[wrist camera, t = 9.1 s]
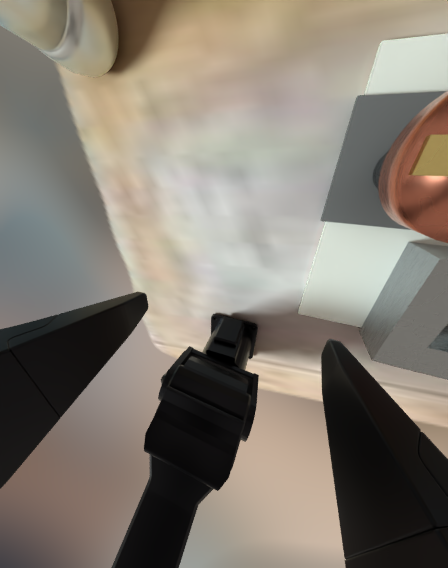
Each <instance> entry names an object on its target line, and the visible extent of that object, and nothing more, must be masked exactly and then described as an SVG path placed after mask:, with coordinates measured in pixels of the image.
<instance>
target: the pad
mask: <svg viewBox="0 0 448 568" xmlns="http://www.w3.org/2000/svg"><path fill="white" fill-rule="evenodd" d="M445 92H447V91H438V92H419V93H399V94H380V95H360V96H357V98H356V101H355V105H354V108H353V111H352V115H351V118H350V122H349V125H348V129H347V132H346V135H345V139H344V142H343V146H342V149H341V152H340V156H339V159H338V163H337V166H336V170H335V173H334V176H333V180H332V183H331V187H330V190H329V194H328V197H327V200H326V204H325V207H324V211H323V214H322V217H321V221H325V222H335V223H346V224H356V225H366V226H376V227H386V228H396V229H406V230H411V229H409V228H406V227H404V226H402V225H400V224H398V223H397V222H395V221H394V220H392V219H391V218H390V217H389V216H388V215H387V213H386V212H385V211H384V209H383V207H382V205H381V202H380V198H379V192H378V189H377V188H376V186H375V185H374V183H373V171H374V168H375V166H376V164H377V162H378V161H379V160H380V158H381V157H382V156H383V155H384V154H385V153H387V152H388V151H389V149H390V148H391V146H392V144H393V143H394V141H395V140H396V138H397V137H398V135H399V134H400V133H401V131H402V130H403V129H404V128H405V127H406V126H407V124H408V123H409V122H410V121H411V120H412V119H413V118H414V117H415V116H416V115H417V114H418V113H419V112H420V111H421V110H423V109H424V108H425V107H426V106H427V105H429V104H430V103H431V102H432V101H434V100H435V99H436V98H438V97H439V96H441V95H442V94H443V93H445Z"/></svg>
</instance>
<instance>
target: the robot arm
mask: <svg viewBox="0 0 448 568" xmlns="http://www.w3.org/2000/svg"><path fill="white" fill-rule="evenodd" d="M147 310H148V301H147V296H146V294H145V293H142V292H135V293H132V294H128V295H125V296H121V297H118V298H114V299H111V300H107V301H104V302H100V303H96V304H94V305H90V306H86V307H83V308H79V309H76V310H72V311H69V312H65V313H61V314H59V315H54V316H51V317H47V318H44V319H40V320H37V321H33V322H29V323H25V324H21V325H17V326H13V327H9V328H4V329H0V488H1V487H3V486H4V484H5V483H6V482H7V481H8V480H9V479H10V478H11V476H12V475H13V474H14V473H15V472H16V471H17V469H18V468H19V467H20V466H21V465H22V463H23V462H24V461H25V460H26V459H27V457H28V456H29V455H30V454H31V453H32V451H33V450H34V449H35V448H36V447H37V445H38V444H39V443H40V442H41V441H42V439H43V438H44V437H45V436H46V435H47V433H48V432H49V431H50V430H51V429H52V428H53V426H54V425H55V424H56V423H57V422H58V420H59V419H60V417H61V416H62V415H63V414H64V413H65V412H66V411H67V409H68V408H69V407H70V406H71V405H72V403H73V402H74V401H75V400H76V399H77V397H78V396H79V395H80V394H81V393H82V392H83V390H84V389H85V388H86V387H87V385H88V384H89V383H90V382H91V381H92V380H93V378H94V377H95V376H96V375H97V374H98V372H99V371H100V370H101V369H102V368H103V366H104V365H105V364H106V363H107V362H108V360H109V359H110V358H111V357H112V356H113V354H114V353H115V352H116V351H117V350H118V349H119V347H120V346H121V345H122V344H123V343H124V341H125V340H126V339H127V338H128V336H129V335H130V334H131V333H132V331H133V330H134V329H135V327H136V326H137V324H138V323H139V321H140V320H141V319H142V317H143V316H144V314H145V313H146V311H147ZM214 317H215V318H214ZM253 327H255V328H253ZM257 329H258V326H257V325H256V324H254V323H250V322H246V321H242V320H238V319H234V318H230V317H226V316H222V315H217V314H213V315H212V317H211V337H210V339H209V340H208V342H207V344H206V346H205V348H204V350H203V352H200V351H197V350H195V349H194V348H192V347H190V346H189V347H188V349H187V350H186V351H184V352H183V353H182V355H181V356H180V357H179V358H178V359H177V361H176V362H175V363H174V364H173V365H172V367H171V368H170V369H169V370H168V371H167V373H165V374H164V375H163V377H162V379H161V383H162V386H161V389H160V392H159V397H158V399H159V400H160V401H161V402H160V404H159V406H158V409H157V411H156V413H155V416H154V418H153V420H152V422H151V424H150V426H149V428H148V430H147V432H146V435H145V444H144V451H145V452H147V453H149V454H150V477H149V480H148V483H147V485H146V488H145V490H144V492H143V495H142V497H141V500H140V502H139V504H138V507H137V509H136V511H135V514H134V516H133V519H132V521H131V523H130V525H129V528H128V530H127V533H126V535H125V537H124V540H123V542H122V544H121V547H120V549H119V552H118V554H117V556H116V558H115V561H114V563H113V566H112V568H179V565H180V562H181V558H182V555H183V552H184V549H185V545H186V542H187V539H188V536H189V533H190V529H191V526H192V523H193V520H194V517H195V514H196V510H197V507H198V504H199V503H200V502H201V501H202V500H203V499H204V498H205V497H206V496H207V495H208V494H209V493H210V492H211V491H212V490H213V489H215V490H217V491H218V490H219V489H220V488H221V487H222V486H223V484H224V483H225V482H226V480H227V479H228V478H229V475H230V471H231V469H232V467H233V464H234V460H235V457H236V453H237V450H238V446H239V443H240V440H243V441H246V440H247V438H248V436H249V434H250V431H251V427H252V424H253V420H254V415H255V411H256V403H257V390H258V376H259V375H257V374H255V373H254V374H252V373H250V372H248V371H245V369H246V365H247V361H248V358H249V359H251V358H252V357H253V352H254V346H255V341H256V335H257ZM321 363H322V396H323V404H324V411H325V418H326V426H327V433H328V440H329V447H330V455H331V462H332V469H333V477H334V484H335V491H336V499H337V506H338V513H339V520H340V528H341V535H342V542H343V550H344V557H345V559H346V560H345V564H346V568H448V459H447V458H446V457H445V456H444V455H443V453H442V452H441V451H440V450H439V449H438V448H437V447H436V446H435V445H434V444H433V443H432V442H431V440H430V439H429V438H428V437H427V436H426V435H425V434H424V433H423V432H421V431H420V429H419V427H418V426H417V425H416V424H415V423H414V422H413V421H412V420H411V419H410V418H409V416H408V415H407V414H406V413H405V412H404V411H403V410H402V409H401V408H400V407H399V405H398V404H397V403H396V402H395V401H394V400H393V399H392V398H391V397H390V396H389V394H388V393H387V392H386V391H385V390H384V389H383V388H382V387H381V386H380V385H379V384H378V382H377V381H376V380H375V379H374V378H373V377H372V376H371V375H370V374H369V373H368V371H367V370H366V369H365V368H364V367H363V366H362V365H361V364H360V363H359V362H358V360H357V359H356V358H355V357H354V356H353V355H352V354H351V353H350V352H349V351H348V349H347V348H346V347H345V346H344V345H343V344H342V343H341V342H340V341H336V340H332V339H329V340H328V341H327V343H326V345H325V347H324V350H323V352H322V356H321Z"/></svg>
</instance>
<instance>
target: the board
mask: <svg viewBox="0 0 448 568" xmlns="http://www.w3.org/2000/svg"><path fill="white" fill-rule="evenodd" d="M438 91H448V33H447V34H439V35H430V36H421V37H412V38H403V39H394V40H385V41H382V42H381V44H380V45H379V48H378V51H377V54H376V58H375V61H374V64H373V68H372V71H371V74H370V77H369V81H368V84H367V87H366V90H365V94H364V95H380V94H399V93H419V92H438ZM408 242H415V243H424V244H433V245H442V246H448V243H444V242H441V241H438V240H435V239H432V238H430V237H428V236H425V235H423V234H421V233H418V232H416V231H413V230H406V229H396V228H386V227H376V226H366V225H356V224H346V223H335V222H325V225H324V228H323V231H322V234H321V238H320V241H319V244H318V247H317V251H316V254H315V257H314V261H313V264H312V267H311V270H310V274H309V277H308V280H307V283H306V287H305V290H304V293H303V297H302V300H301V303H300V306H299V310H298V314H301V315H305V316H310V317H314V318H319V319H324V320H328V321H333V322H337V323H342V324H346V325H351V326H356V327H360V328H361V327H362V325H363V323H364V321H365V320H366V318H367V316H368V314H369V312H370V311H371V309H372V307H373V305H374V303H375V301H376V300H377V298H378V296H379V294H380V292H381V291H382V289H383V287H384V285H385V283H386V281H387V280H388V278H389V276H390V274H391V272H392V271H393V269H394V267H395V265H396V263H397V261H398V260H399V258H400V256H401V254H402V252H403V251H404V249H405V247H406V245H407V243H408ZM446 326H448V324H447V325H446Z"/></svg>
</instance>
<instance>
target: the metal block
mask: <svg viewBox="0 0 448 568" xmlns="http://www.w3.org/2000/svg"><path fill="white" fill-rule="evenodd" d="M447 324H448V246H442V245H433V244H424V243H415V242H408V243H407V245H406V247H405V249H404V251H403V252H402V254H401V256H400V258H399V260H398V261H397V263H396V265H395V267H394V269H393V271H392V272H391V274H390V276H389V278H388V280H387V281H386V283H385V285H384V287H383V289H382V291H381V292H380V294H379V296H378V298H377V300H376V301H375V303H374V305H373V307H372V309H371V311H370V312H369V314H368V316H367V318H366V320H365V321H364V323H363V325H362V327H361V329H360V331H359V332H360V334H361V336H362V339H363V341H364V343H365V346H366V348H367V350H368V352H369V355H370V357H371V359H372V361H376V362H380V363H384V364H388V365H391V366H395V367H399V368H403V369H407V370H411V371H415V372H419V373H423V374H427V375H431V376H435V377H439V378H443V379H447V380H448V326H446V325H447Z"/></svg>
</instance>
